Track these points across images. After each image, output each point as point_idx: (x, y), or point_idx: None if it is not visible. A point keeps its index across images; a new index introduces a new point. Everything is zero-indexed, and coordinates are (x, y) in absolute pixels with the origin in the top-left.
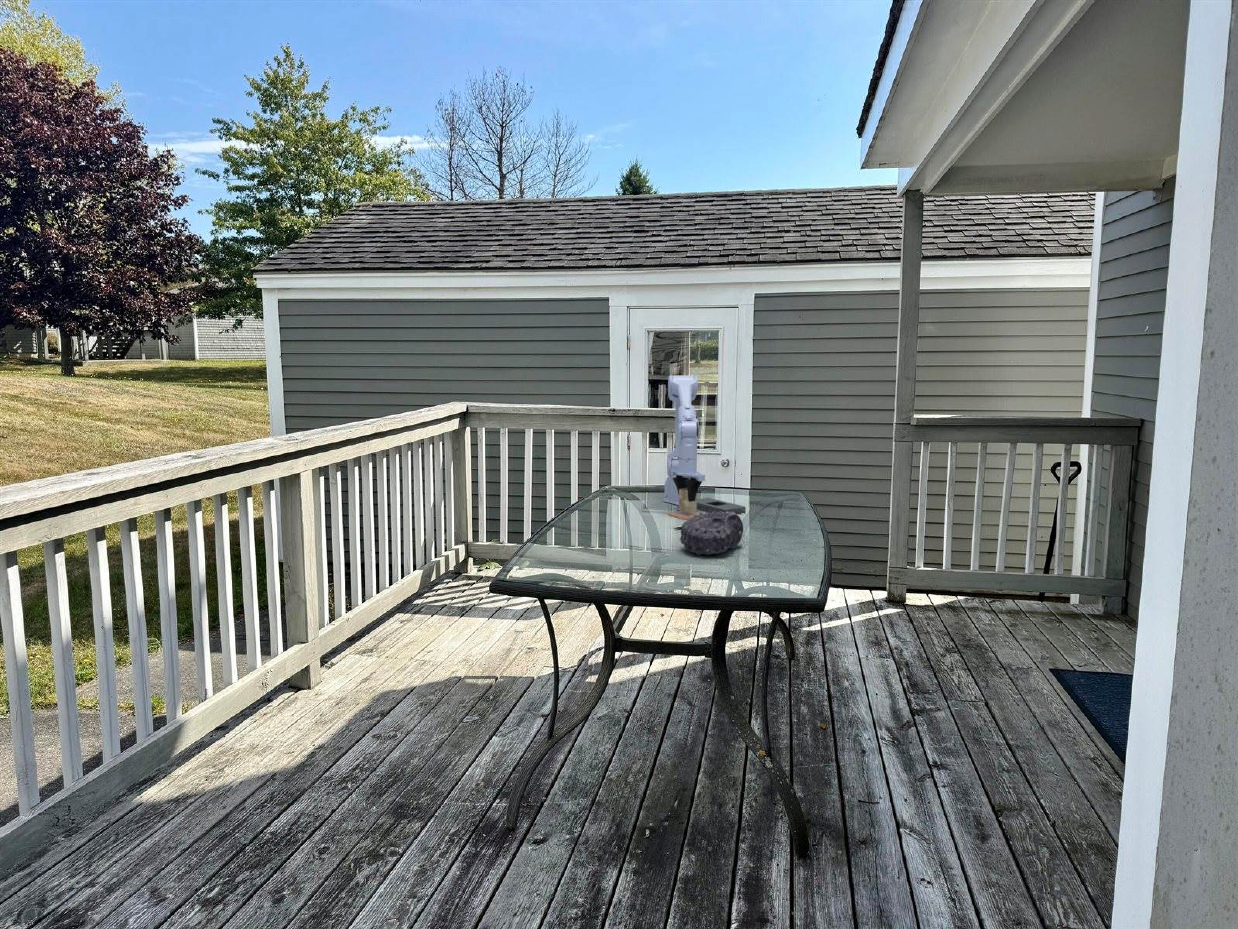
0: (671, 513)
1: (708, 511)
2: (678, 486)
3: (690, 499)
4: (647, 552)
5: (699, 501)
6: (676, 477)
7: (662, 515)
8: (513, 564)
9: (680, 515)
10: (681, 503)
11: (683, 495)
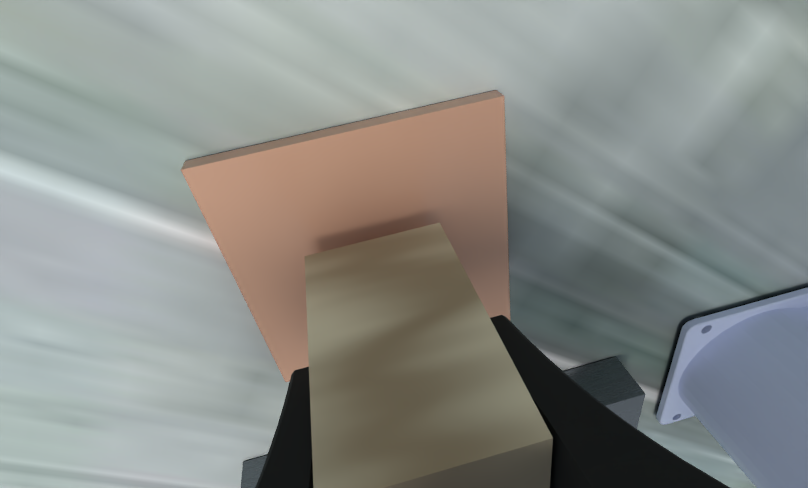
0: (468, 136)
1: None
2: (592, 472)
3: (288, 401)
4: None
5: None
6: None
7: (510, 30)
8: None
9: (341, 182)
10: (418, 283)
11: (404, 383)
